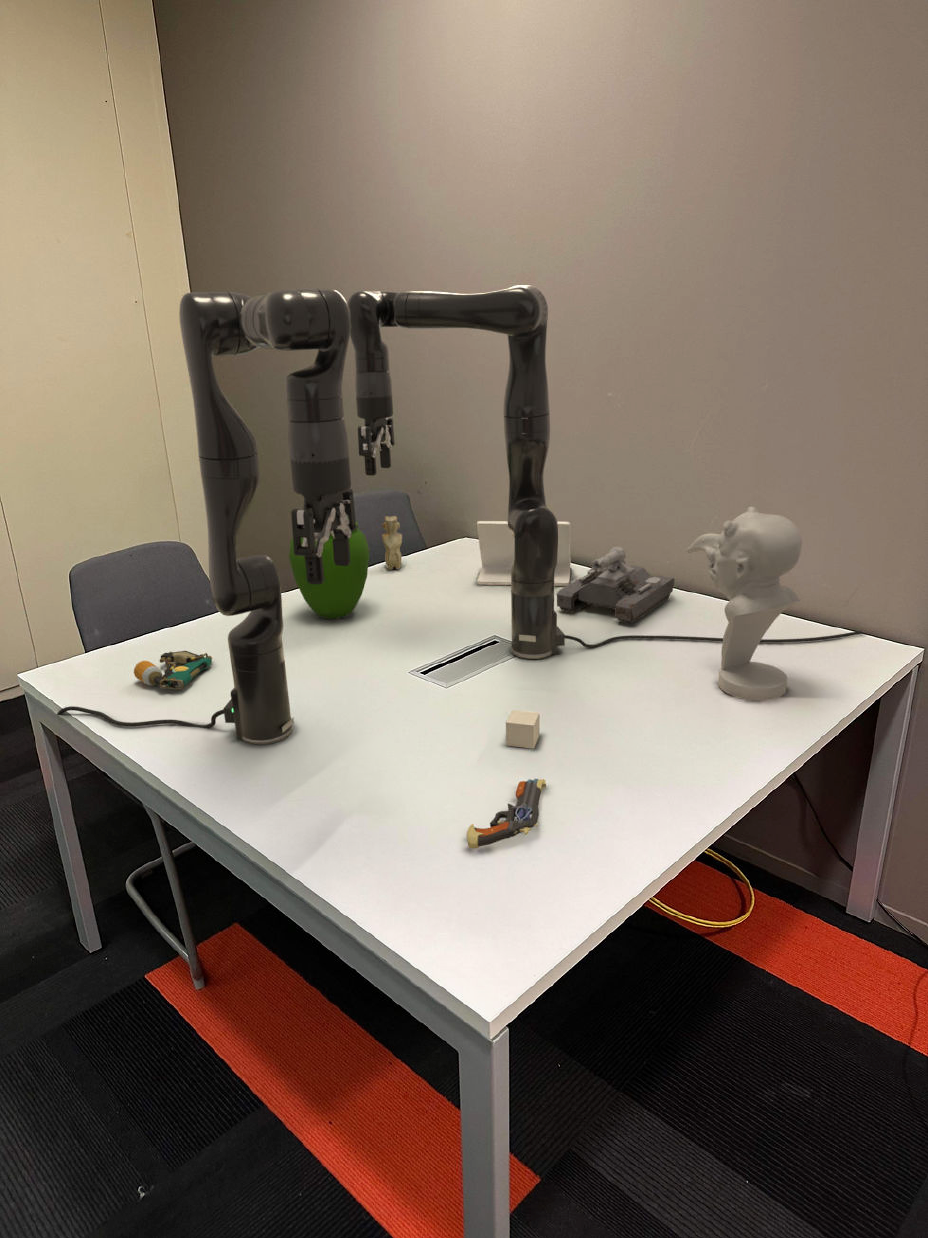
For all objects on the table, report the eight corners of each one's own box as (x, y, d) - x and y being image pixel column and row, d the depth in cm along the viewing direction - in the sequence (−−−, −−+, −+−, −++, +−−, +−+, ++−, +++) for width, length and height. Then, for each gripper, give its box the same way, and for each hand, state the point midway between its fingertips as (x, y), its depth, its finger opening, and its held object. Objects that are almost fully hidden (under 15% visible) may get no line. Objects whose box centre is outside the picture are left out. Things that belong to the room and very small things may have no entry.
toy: (603, 584, 229) (605, 530, 224) (673, 597, 218) (677, 540, 213) (555, 612, 210) (556, 553, 205) (630, 627, 199) (633, 566, 194)
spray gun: (177, 659, 191) (231, 671, 185) (120, 684, 176) (176, 698, 171) (176, 641, 190) (230, 653, 184) (118, 665, 175) (174, 678, 169)
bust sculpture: (719, 649, 185) (733, 490, 173) (809, 690, 165) (831, 514, 153) (662, 665, 178) (671, 501, 166) (748, 710, 158) (766, 527, 146)
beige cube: (506, 745, 149) (505, 722, 147) (512, 732, 153) (512, 709, 152) (533, 748, 148) (533, 725, 146) (539, 735, 152) (539, 712, 150)
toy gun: (462, 837, 120) (533, 836, 117) (484, 775, 137) (546, 773, 135) (465, 854, 120) (535, 853, 118) (486, 790, 138) (547, 788, 136)
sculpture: (404, 563, 253) (401, 513, 247) (403, 570, 246) (400, 519, 241) (384, 564, 253) (381, 514, 247) (383, 571, 246) (380, 520, 241)
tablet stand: (569, 585, 229) (570, 524, 223) (476, 584, 232) (475, 523, 226) (570, 566, 246) (571, 508, 240) (484, 564, 249) (483, 507, 243)
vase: (389, 608, 216) (383, 514, 208) (339, 633, 201) (330, 533, 192) (330, 596, 226) (322, 506, 218) (278, 619, 211) (267, 523, 202)
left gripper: (322, 465, 103) (333, 592, 109) (367, 445, 116) (375, 560, 121) (266, 463, 105) (280, 588, 111) (317, 444, 118) (327, 557, 123)
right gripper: (377, 397, 170) (382, 478, 176) (402, 390, 183) (406, 465, 188) (343, 397, 172) (349, 477, 178) (370, 390, 185) (374, 464, 190)
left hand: (329, 573), depth 116 cm, fingers open, 8 cm apart
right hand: (378, 471), depth 183 cm, fingers open, 8 cm apart
